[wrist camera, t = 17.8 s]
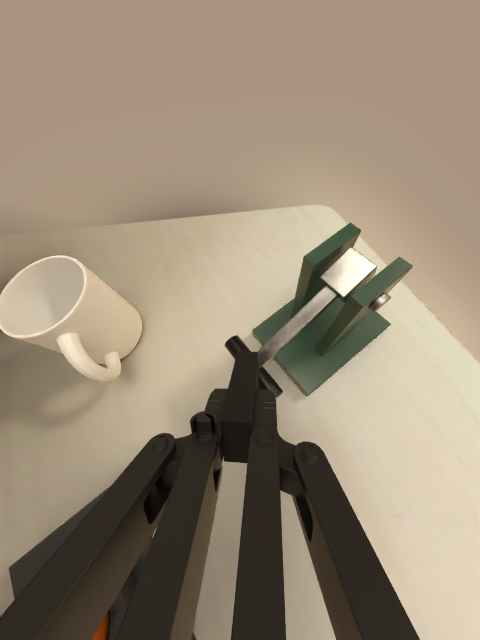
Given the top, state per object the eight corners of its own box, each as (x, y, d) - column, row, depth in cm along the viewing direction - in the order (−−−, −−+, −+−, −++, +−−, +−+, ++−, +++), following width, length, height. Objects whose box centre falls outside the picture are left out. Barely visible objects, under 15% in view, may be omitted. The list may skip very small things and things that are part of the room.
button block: (33, 553, 21) (-17, 581, 17) (127, 477, 23) (100, 489, 19) (79, 755, 16) (24, 853, 12) (196, 640, 18) (177, 697, 14)
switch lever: (274, 400, 19) (264, 407, 17) (232, 346, 21) (218, 346, 19) (397, 293, 16) (403, 285, 14) (332, 244, 18) (329, 230, 16)
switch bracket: (306, 396, 24) (343, 374, 12) (252, 333, 27) (240, 269, 16) (386, 328, 26) (484, 251, 14) (326, 277, 29) (365, 182, 17)
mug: (164, 369, 27) (108, 342, 17) (98, 407, 26) (1, 400, 16) (133, 294, 31) (75, 241, 22) (76, 324, 31) (-9, 282, 21)
